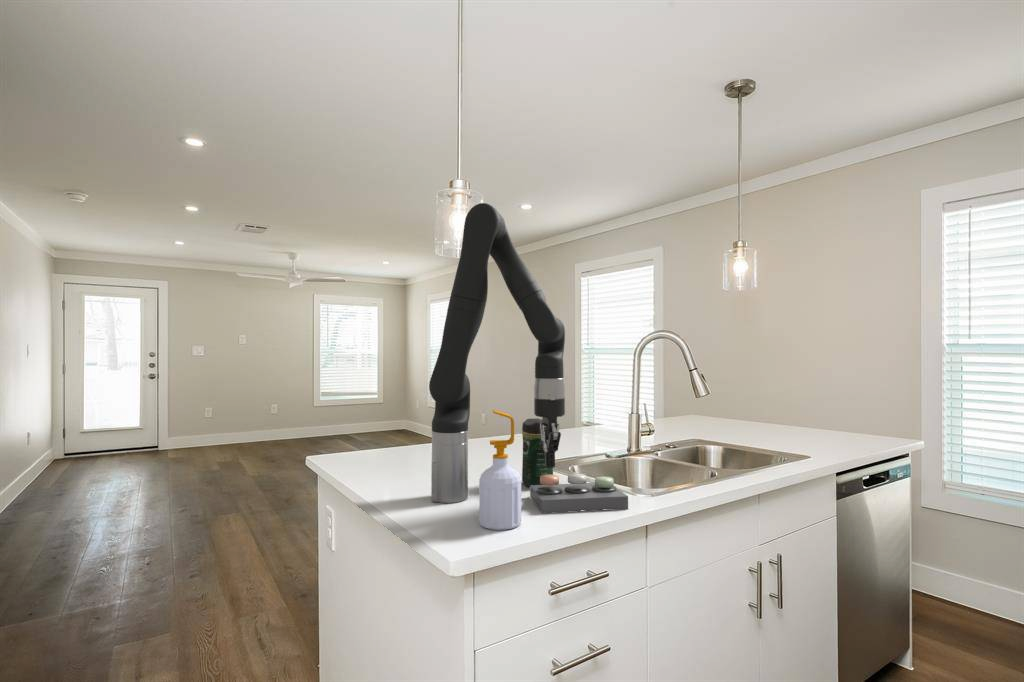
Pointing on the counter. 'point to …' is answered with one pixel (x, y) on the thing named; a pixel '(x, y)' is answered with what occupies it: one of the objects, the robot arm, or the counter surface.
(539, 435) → the coffee jar
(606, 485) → the sage button
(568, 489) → the button panel
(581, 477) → the white button
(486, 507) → the soap bottle
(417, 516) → the counter surface
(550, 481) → the terracotta button
